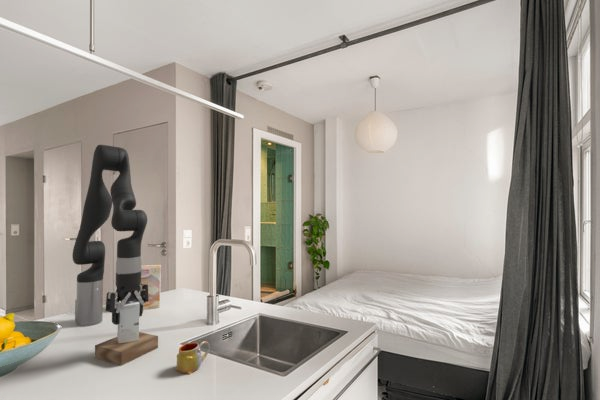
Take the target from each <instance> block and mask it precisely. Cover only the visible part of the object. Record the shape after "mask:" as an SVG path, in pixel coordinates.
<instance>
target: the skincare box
mask: <svg viewBox="0 0 600 400" xmlns="http://www.w3.org/2000/svg"><path fill="white" fill-rule="evenodd" d="M139 312H140V303H139V302H138V301H131V302H128V303H125V304H124V306H122V308H121V309H120V311H119V313H120V324H118V325H117V334H116V335H117V336H116V337H117V340H118V344H120V343H126V342H132V341H137V340H138V339H139V332H140V317H139Z"/></svg>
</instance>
